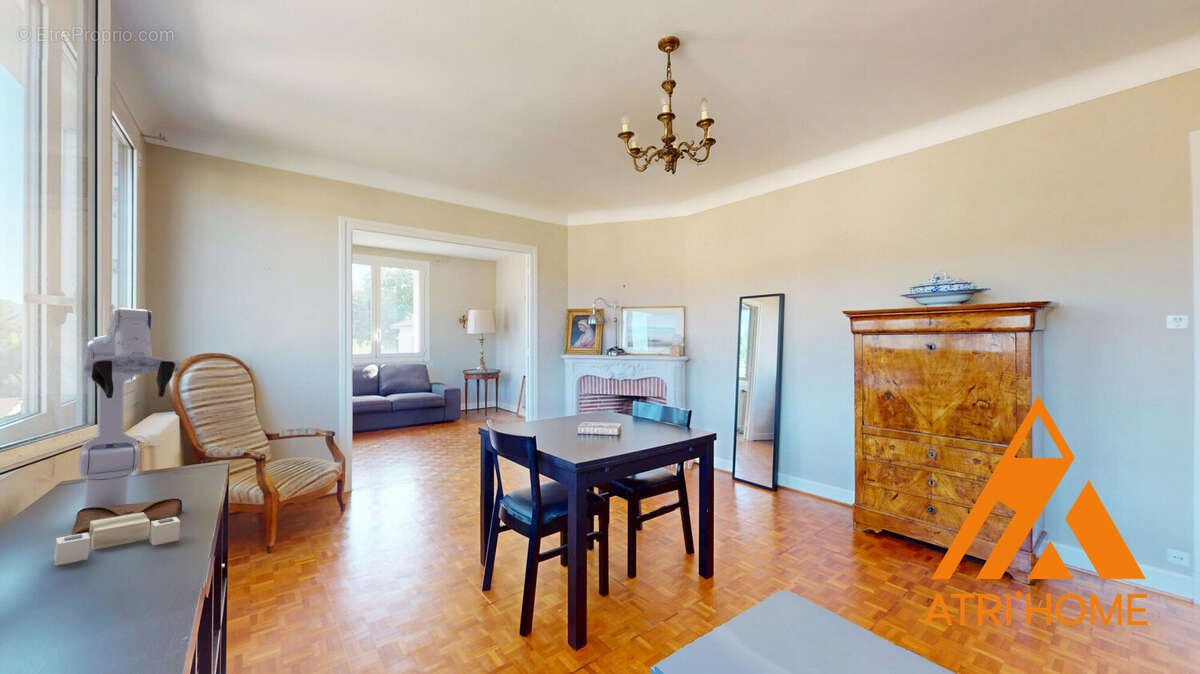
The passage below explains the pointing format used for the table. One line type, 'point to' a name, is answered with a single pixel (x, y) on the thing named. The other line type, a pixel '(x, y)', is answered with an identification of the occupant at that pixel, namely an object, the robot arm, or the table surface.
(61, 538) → the cream block marked 1
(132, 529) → the plain birch block
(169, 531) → the cream block marked 2
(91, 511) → the sunglasses case
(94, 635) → the table surface
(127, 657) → the table surface
